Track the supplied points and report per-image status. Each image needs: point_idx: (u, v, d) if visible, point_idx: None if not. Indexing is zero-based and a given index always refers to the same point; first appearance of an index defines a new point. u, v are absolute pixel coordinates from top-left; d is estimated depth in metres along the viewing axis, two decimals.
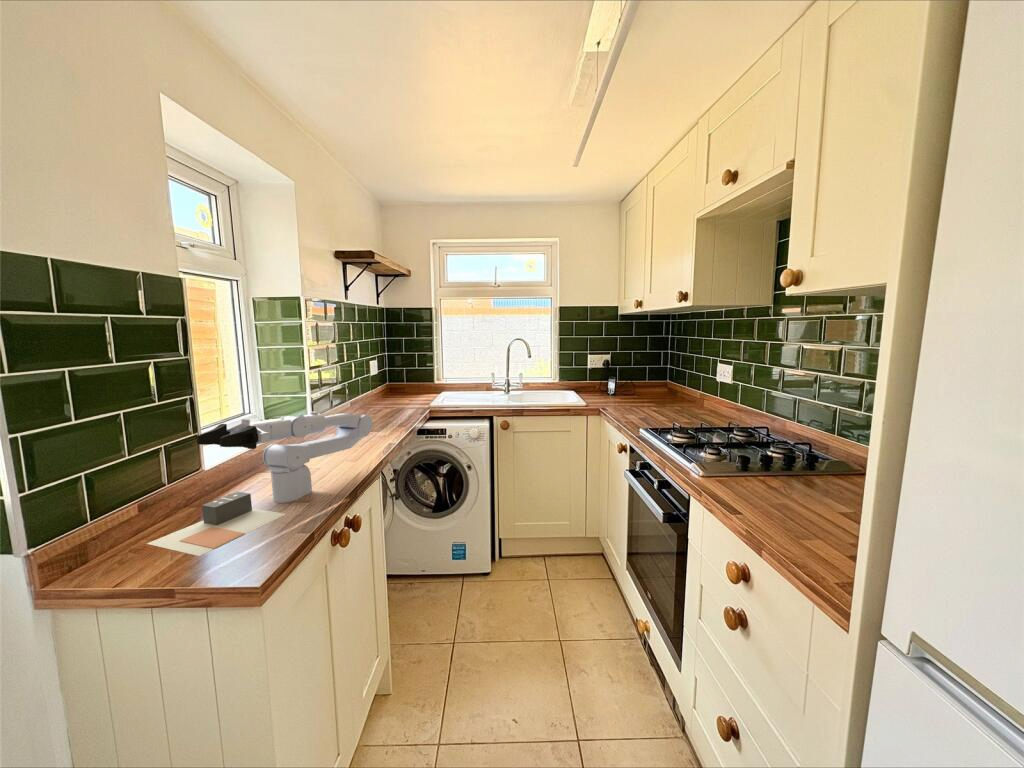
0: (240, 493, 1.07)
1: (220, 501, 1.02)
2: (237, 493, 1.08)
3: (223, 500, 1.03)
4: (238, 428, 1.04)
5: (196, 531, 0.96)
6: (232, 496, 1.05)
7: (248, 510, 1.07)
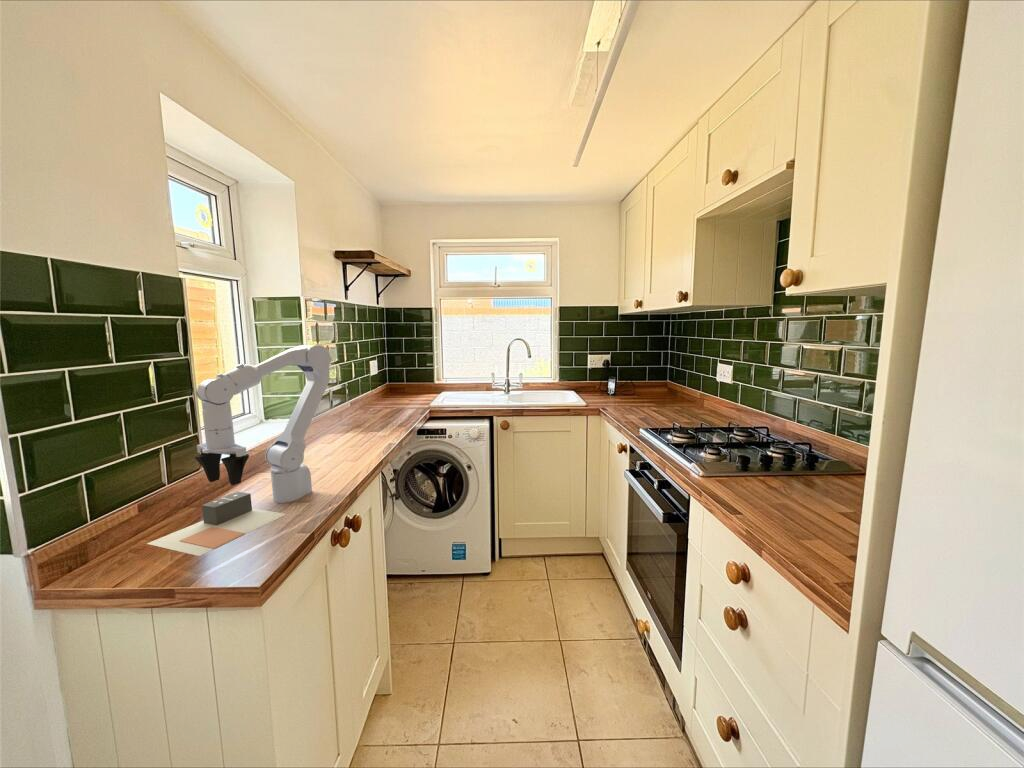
0: (240, 493, 1.07)
1: (220, 501, 1.02)
2: (237, 493, 1.08)
3: (223, 500, 1.03)
4: None
5: (196, 531, 0.96)
6: (232, 496, 1.05)
7: (248, 510, 1.07)
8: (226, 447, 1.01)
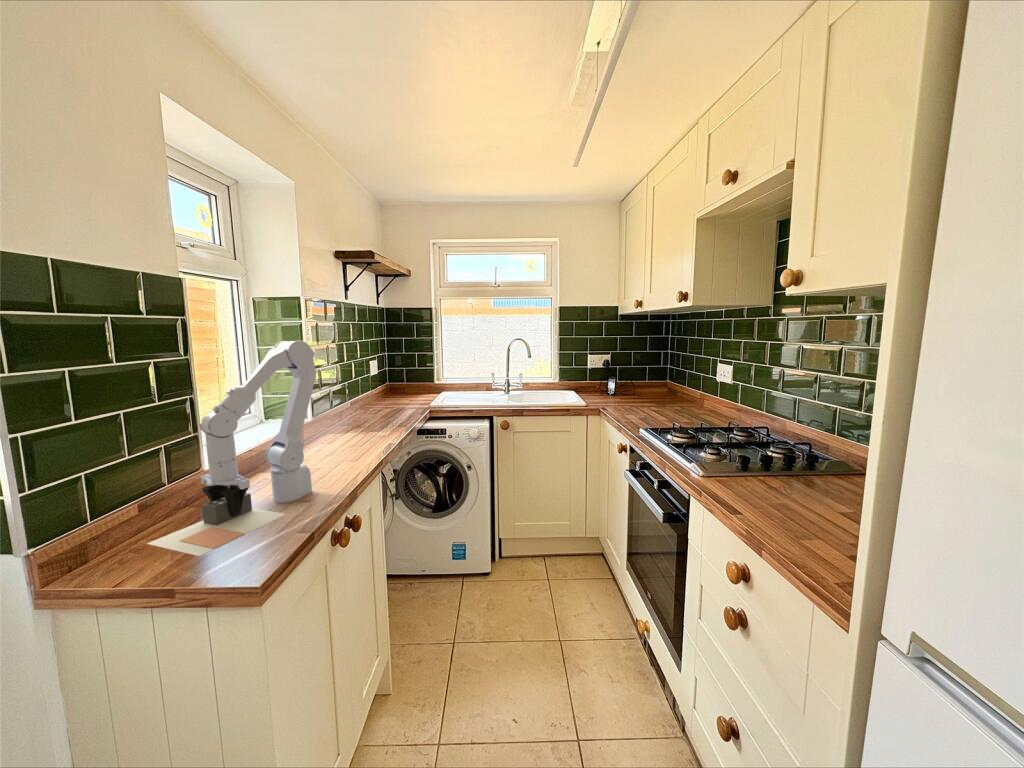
0: None
1: (220, 501, 1.02)
2: None
3: (223, 500, 1.03)
4: None
5: (196, 531, 0.96)
6: None
7: (248, 510, 1.07)
8: (229, 479, 1.01)
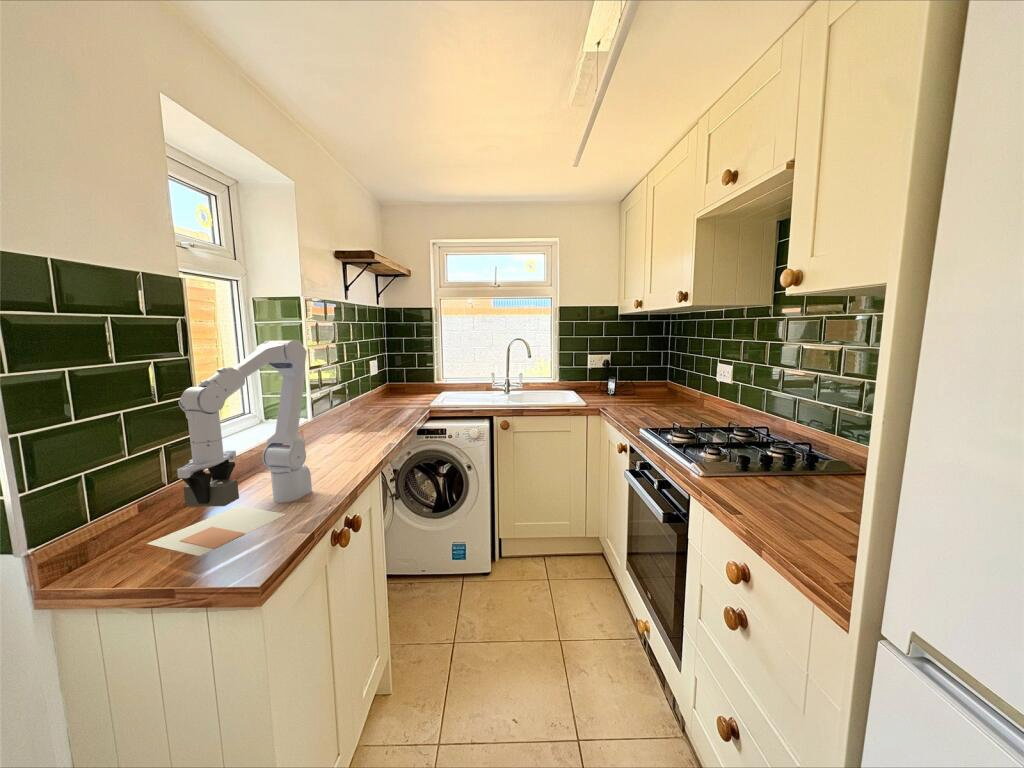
0: (228, 482, 0.95)
1: None
2: (230, 481, 0.96)
3: None
4: None
5: (196, 531, 0.96)
6: (219, 482, 0.95)
7: (220, 504, 0.93)
8: (195, 463, 0.91)
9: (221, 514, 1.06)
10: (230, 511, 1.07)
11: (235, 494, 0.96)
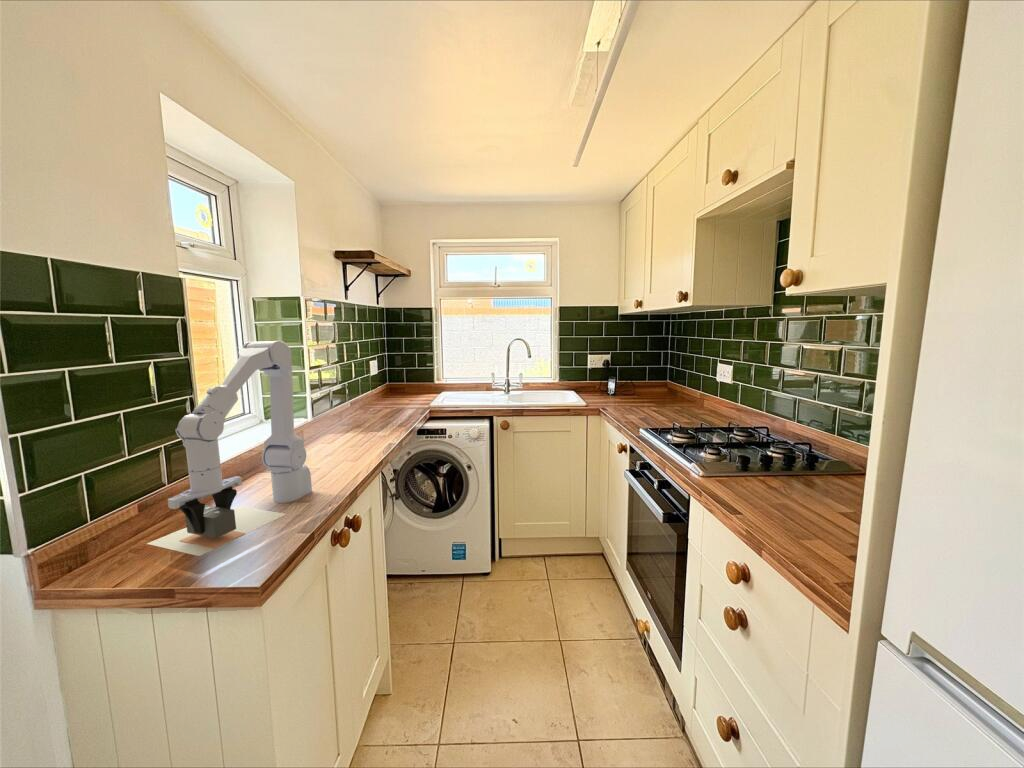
0: (223, 512, 0.92)
1: (204, 510, 0.93)
2: (226, 511, 0.93)
3: (206, 511, 0.93)
4: None
5: None
6: (216, 511, 0.92)
7: (212, 536, 0.90)
8: (191, 491, 0.90)
9: None
10: None
11: (231, 525, 0.93)
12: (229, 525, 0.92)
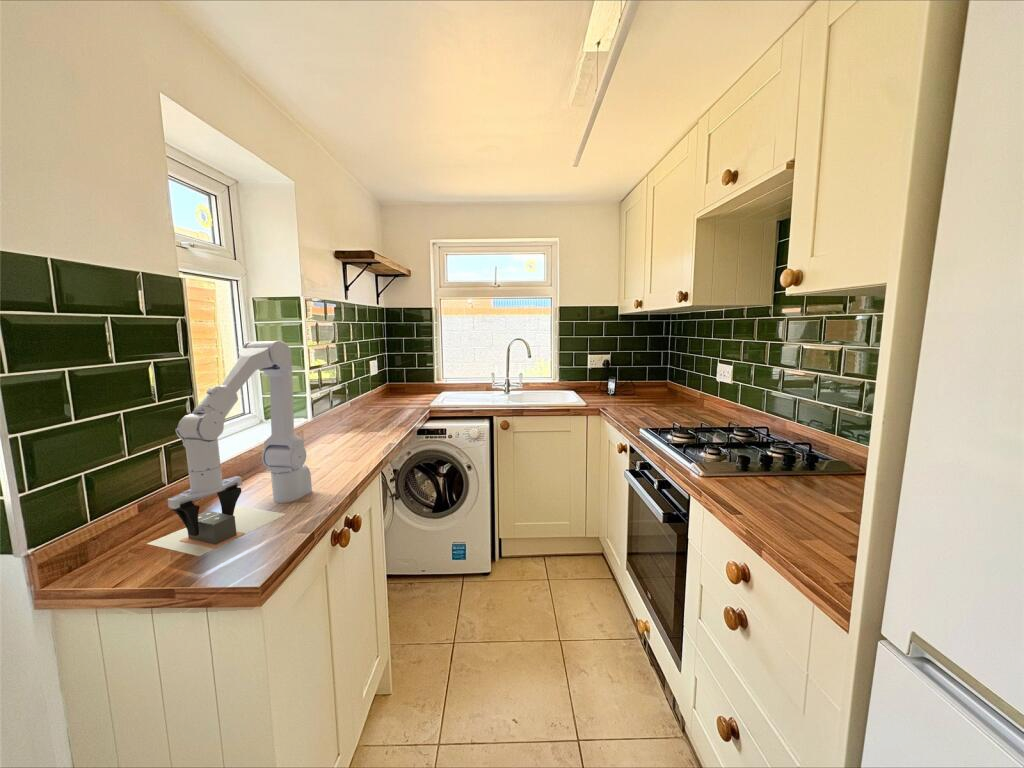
0: (223, 519, 0.92)
1: (205, 516, 0.93)
2: (227, 517, 0.93)
3: (207, 517, 0.93)
4: None
5: None
6: (217, 517, 0.92)
7: (212, 542, 0.90)
8: (191, 491, 0.90)
9: None
10: None
11: (231, 532, 0.93)
12: (229, 531, 0.92)
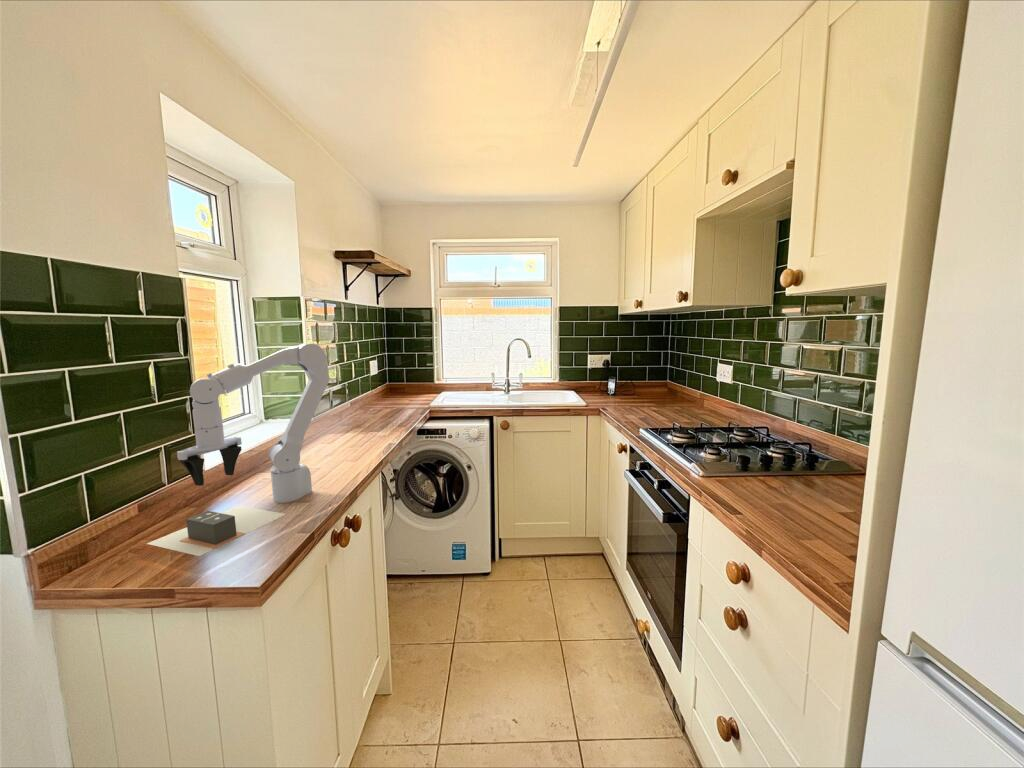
0: (223, 519, 0.92)
1: (205, 516, 0.93)
2: (227, 517, 0.93)
3: (207, 517, 0.93)
4: None
5: None
6: (217, 517, 0.92)
7: (212, 542, 0.90)
8: (197, 446, 1.02)
9: None
10: (230, 511, 1.07)
11: (231, 532, 0.93)
12: (229, 531, 0.92)
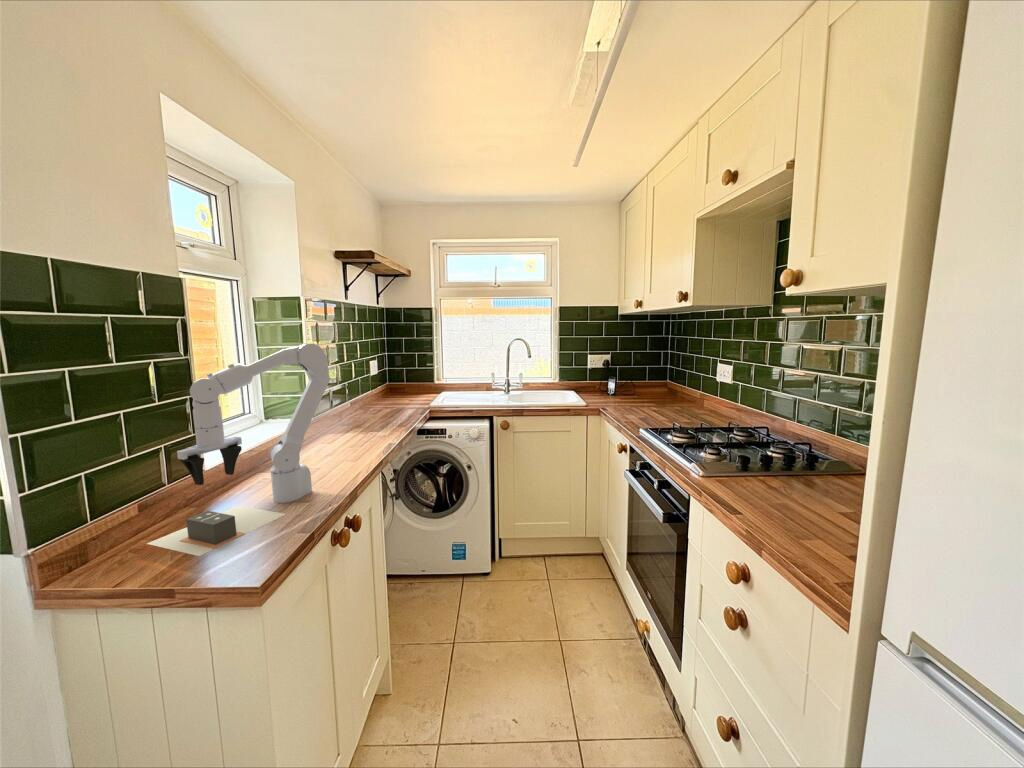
0: (223, 519, 0.92)
1: (205, 516, 0.93)
2: (227, 517, 0.93)
3: (207, 517, 0.93)
4: None
5: None
6: (217, 517, 0.92)
7: (212, 542, 0.90)
8: (197, 446, 1.02)
9: None
10: (230, 511, 1.07)
11: (231, 532, 0.93)
12: (229, 531, 0.92)
